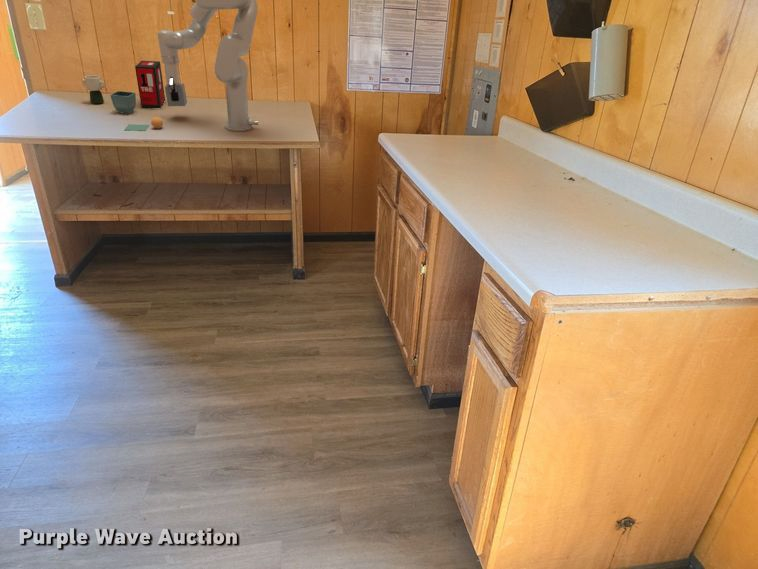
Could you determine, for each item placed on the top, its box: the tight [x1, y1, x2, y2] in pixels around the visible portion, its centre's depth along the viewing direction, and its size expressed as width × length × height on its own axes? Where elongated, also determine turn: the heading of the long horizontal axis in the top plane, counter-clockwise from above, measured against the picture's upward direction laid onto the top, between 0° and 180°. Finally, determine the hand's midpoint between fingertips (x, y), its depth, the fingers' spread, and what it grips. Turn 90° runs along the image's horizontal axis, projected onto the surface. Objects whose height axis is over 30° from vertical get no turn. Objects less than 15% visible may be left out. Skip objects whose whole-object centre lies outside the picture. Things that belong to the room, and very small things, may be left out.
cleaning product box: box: [134, 60, 166, 109], centre depth 270 cm, size 16×9×20 cm, turn 10°
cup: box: [164, 83, 188, 107], centre depth 252 cm, size 8×8×9 cm
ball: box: [150, 116, 164, 129], centre depth 240 cm, size 5×5×5 cm
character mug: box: [82, 74, 106, 104], centre depth 266 cm, size 11×7×13 cm, turn 88°
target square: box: [123, 123, 150, 132], centre depth 240 cm, size 9×9×1 cm
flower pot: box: [110, 90, 137, 115], centre depth 257 cm, size 9×9×9 cm
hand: (176, 98), depth 253 cm, fingers closed on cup, 7 cm apart
